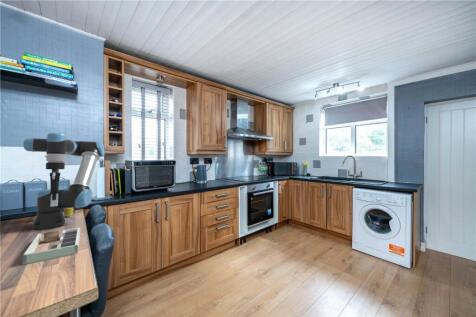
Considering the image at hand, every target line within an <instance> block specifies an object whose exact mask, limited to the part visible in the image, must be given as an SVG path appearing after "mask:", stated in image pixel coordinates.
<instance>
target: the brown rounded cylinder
mask: <svg viewBox="0 0 476 317" xmlns="http://www.w3.org/2000/svg"><path fill="white" fill-rule="evenodd" d="M59 236H60V233H59V231H57V230H55V231H48V232H45V233H43V243H44V244H50V243H51V244H52V243H55V242H58V241H60V237H59Z"/></svg>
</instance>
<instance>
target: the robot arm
mask: <svg viewBox="0 0 476 317" xmlns="http://www.w3.org/2000/svg"><path fill="white" fill-rule="evenodd" d="M22 144H23V148H24V150H25V151H26V152H31V153H32V152H33V153H35V152H36V153H39V152H40V153H41V152H42V153H45V154H46V155H44V158H45V161H46V163H45V169H46V170H51V172H50V173H49V178H50V188H48V189H41V190H39V191H38V192H37V197H36V200H37V201H36V203H37V205H36V216H35V218H34V220H33V223H32V224H31V228H32V229H33V230H47V229H53V228H54V229H55V228H57V227H62V226H64V225H65V224H66V221H67V220H66V218H65V217H64V212H63V209H64V208H74V209H76V208H77V209H79V208H85V207H87V206H88V205H90V203H91V201H92V199H93V191H92V189H91V187H90V183H91V180H92V176H93V173H94V170H95V168H96V164H97V162H98V161H100V159H101V158H103V157H104V156H105V146H104V143H103V142H101V141H85V140H83V141H82V140H78V141H77V140H76V141H73V140H71V139H67V137H66V134H64V133H57V132H49V133H47V135H46V138H34V137H32V138H31V137H29V138H26V139H24V141H23V143H22ZM66 155H68V156H74V157H82V160H81V161H80V164H79V168H78V170H77V173H76V176H75V178H74V181H73V184H69V186H68V189H64V188H63V187H59V186H60V180H61V179H60V178H61V172H60V170H64V169H65V168H66V166H65V165H66V163H65V162H66Z"/></svg>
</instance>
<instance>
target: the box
mask: <svg viewBox="0 0 476 317" xmlns="http://www.w3.org/2000/svg"><path fill="white" fill-rule="evenodd" d="M61 233H62V234H61V236H60V237H59V243H57V246H56V248H52V249H46V250H41V251H35V250H36V249H37V247H38V246H39V244H40V243H41V240H42V233H38V234H37V235H36V237H35V238H34V239H33V241H32V242H31V243H30V244H29V246H28V248H27V249H26V250H25V252H24V253H23V255H22V265H23V266H24V265H28V264H33V262H34V263H38V262H43V261H49V260H51V259H57V258H62V256H63V257H67V256H71V255H70V254H72V255H76V254H75V253H77V254H78V252H79V245H80V244H79V243H80V235H81V227H75V228H69V229H63V230H62V232H61ZM66 255H67V256H66Z"/></svg>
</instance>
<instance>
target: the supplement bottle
mask: <svg viewBox="0 0 476 317" xmlns="http://www.w3.org/2000/svg"><path fill="white" fill-rule="evenodd" d="M74 210H75V208H63V215H64V217H69V218H73V217H74ZM72 216H73V217H72Z"/></svg>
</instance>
